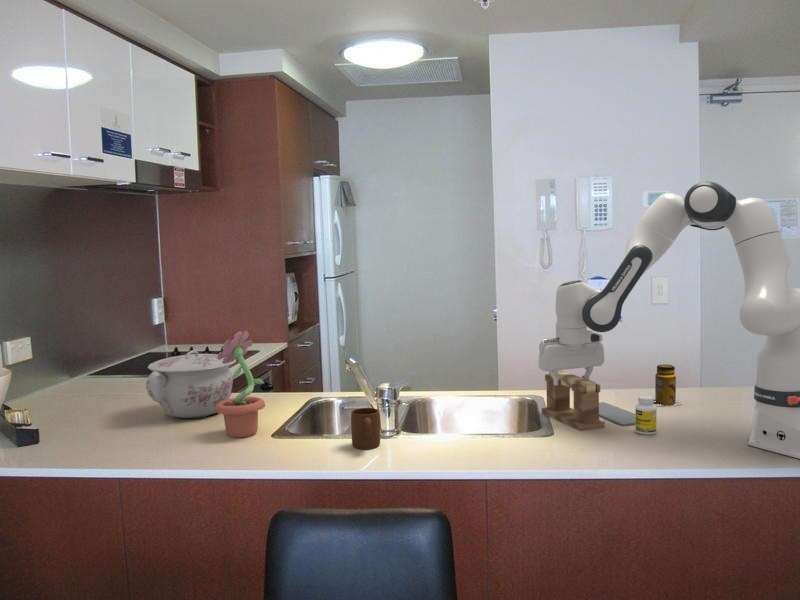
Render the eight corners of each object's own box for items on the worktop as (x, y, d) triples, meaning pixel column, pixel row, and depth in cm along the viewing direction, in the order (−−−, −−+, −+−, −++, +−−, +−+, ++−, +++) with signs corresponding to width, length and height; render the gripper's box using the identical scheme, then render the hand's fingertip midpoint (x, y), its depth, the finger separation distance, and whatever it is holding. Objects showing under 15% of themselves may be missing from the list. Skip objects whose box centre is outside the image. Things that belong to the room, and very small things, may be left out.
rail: (595, 392, 200) (595, 382, 200) (586, 393, 199) (586, 383, 199) (558, 379, 219) (557, 369, 218) (549, 380, 218) (549, 370, 217)
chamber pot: (234, 399, 248) (231, 340, 246) (243, 418, 222) (240, 353, 220) (149, 408, 240) (145, 347, 238) (148, 429, 214) (143, 361, 212)
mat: (652, 422, 204) (652, 420, 204) (622, 426, 201) (622, 424, 201) (603, 403, 227) (603, 401, 227) (575, 407, 224) (575, 405, 224)
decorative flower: (246, 424, 216) (240, 325, 213) (279, 430, 208) (274, 328, 205) (206, 437, 203) (200, 332, 200) (240, 444, 195) (234, 335, 192)
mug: (384, 453, 183) (383, 418, 182) (354, 456, 182) (353, 420, 181) (378, 440, 195) (377, 406, 194) (350, 442, 194) (349, 408, 193)
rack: (604, 427, 201) (604, 385, 200) (579, 430, 199) (579, 387, 197) (564, 409, 221) (564, 371, 220) (541, 412, 218) (541, 374, 217)
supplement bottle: (632, 432, 195) (632, 397, 194) (640, 428, 199) (640, 393, 198) (651, 436, 191) (651, 400, 190) (659, 431, 195) (659, 396, 194)
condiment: (681, 405, 223) (681, 367, 222) (655, 406, 222) (655, 368, 220) (669, 399, 230) (669, 362, 229) (644, 401, 229) (644, 364, 228)
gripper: (545, 340, 201) (545, 389, 203) (607, 335, 208) (607, 382, 209) (534, 337, 207) (534, 384, 209) (594, 332, 214) (595, 378, 215)
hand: (571, 383), depth 209 cm, fingers open, 8 cm apart
